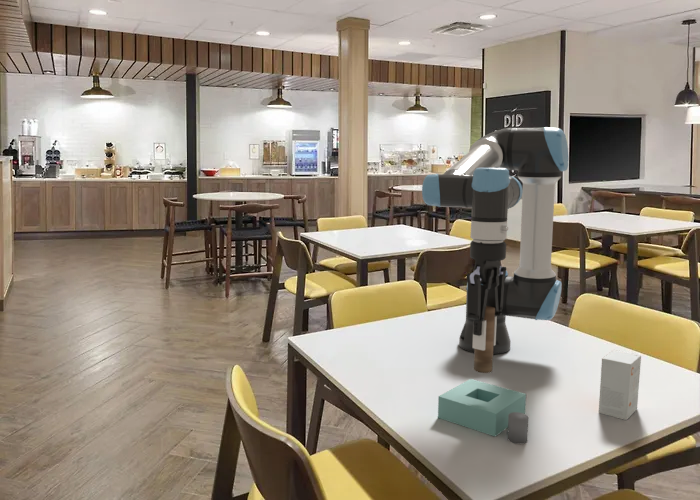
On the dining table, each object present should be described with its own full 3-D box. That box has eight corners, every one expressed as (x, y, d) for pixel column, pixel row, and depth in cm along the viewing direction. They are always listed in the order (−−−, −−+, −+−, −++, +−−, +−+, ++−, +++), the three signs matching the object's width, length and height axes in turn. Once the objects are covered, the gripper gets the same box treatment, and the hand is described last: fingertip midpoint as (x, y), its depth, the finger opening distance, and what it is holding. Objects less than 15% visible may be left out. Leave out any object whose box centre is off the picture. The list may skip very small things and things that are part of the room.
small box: (609, 402, 147) (613, 349, 145) (637, 409, 143) (642, 354, 141) (597, 413, 141) (601, 357, 139) (626, 420, 137) (631, 364, 135)
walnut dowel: (470, 370, 137) (472, 308, 135) (479, 365, 140) (481, 304, 138) (486, 374, 134) (489, 311, 132) (495, 369, 138) (498, 307, 135)
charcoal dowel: (503, 439, 128) (504, 416, 127) (512, 433, 131) (513, 410, 130) (522, 445, 126) (523, 422, 125) (530, 438, 129) (532, 415, 128)
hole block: (438, 417, 139) (438, 396, 138) (470, 398, 149) (470, 378, 148) (495, 436, 130) (496, 413, 129) (525, 415, 140) (526, 393, 139)
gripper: (484, 246, 124) (480, 359, 128) (522, 238, 137) (517, 341, 140) (452, 243, 129) (448, 352, 132) (491, 235, 142) (487, 334, 145)
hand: (484, 346), depth 136 cm, fingers closed on walnut dowel, 4 cm apart
